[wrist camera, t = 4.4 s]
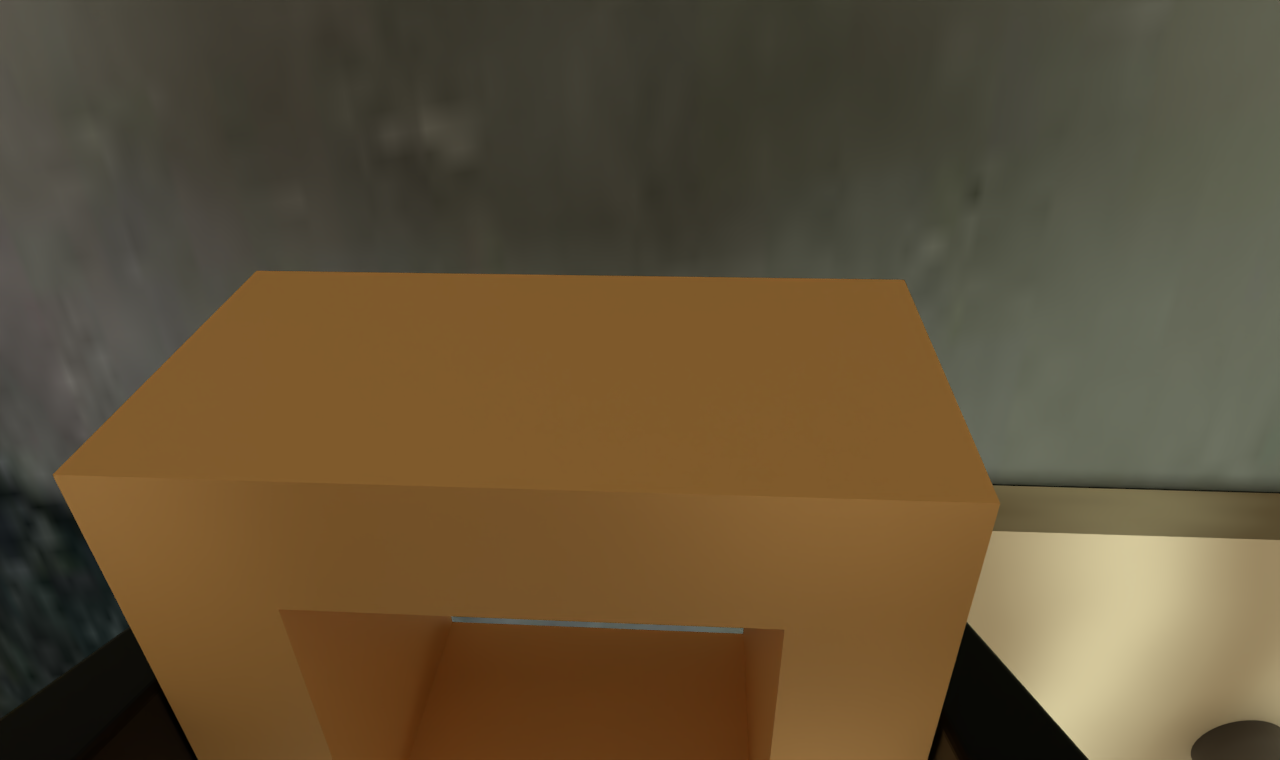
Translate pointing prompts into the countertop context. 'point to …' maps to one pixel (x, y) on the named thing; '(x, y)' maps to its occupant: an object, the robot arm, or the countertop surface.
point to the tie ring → (545, 519)
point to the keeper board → (1140, 617)
